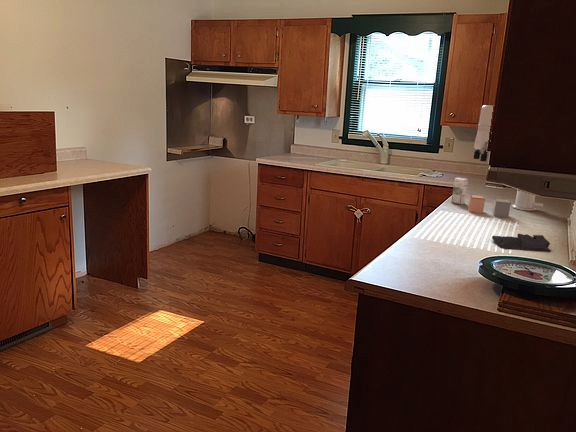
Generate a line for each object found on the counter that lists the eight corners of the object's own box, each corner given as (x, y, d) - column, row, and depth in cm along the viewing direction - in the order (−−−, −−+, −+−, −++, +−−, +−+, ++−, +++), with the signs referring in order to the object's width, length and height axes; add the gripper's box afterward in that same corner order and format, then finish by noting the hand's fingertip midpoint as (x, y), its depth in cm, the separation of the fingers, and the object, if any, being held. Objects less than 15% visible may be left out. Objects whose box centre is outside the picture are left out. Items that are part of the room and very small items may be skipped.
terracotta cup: (481, 210, 271) (483, 196, 269) (482, 213, 264) (485, 198, 263) (467, 209, 273) (470, 194, 271) (468, 211, 266) (471, 197, 264)
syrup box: (464, 203, 288) (468, 178, 284) (460, 204, 284) (464, 179, 280) (455, 201, 291) (459, 177, 288) (450, 202, 287) (454, 177, 284)
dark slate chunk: (486, 239, 216) (488, 228, 215) (537, 242, 217) (539, 231, 215) (501, 250, 201) (503, 239, 200) (555, 253, 202) (557, 242, 201)
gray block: (506, 215, 264) (508, 200, 262) (508, 217, 258) (510, 202, 256) (492, 213, 266) (494, 198, 264) (493, 216, 260) (496, 201, 258)
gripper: (472, 127, 279) (467, 157, 283) (484, 129, 263) (479, 161, 267) (485, 128, 280) (480, 158, 284) (498, 130, 263) (492, 162, 267)
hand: (479, 160), depth 275 cm, fingers open, 9 cm apart
